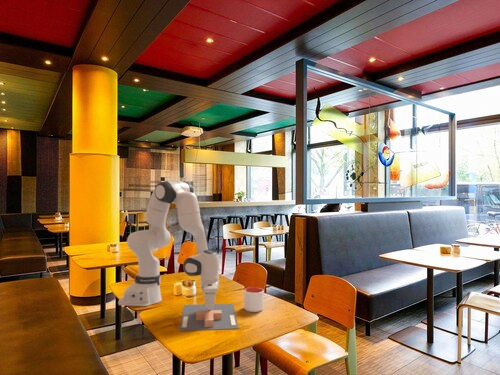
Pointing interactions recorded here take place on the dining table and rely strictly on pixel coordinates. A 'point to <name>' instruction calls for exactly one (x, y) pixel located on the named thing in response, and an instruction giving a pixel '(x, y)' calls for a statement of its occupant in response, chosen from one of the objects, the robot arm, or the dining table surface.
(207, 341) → the dining table surface
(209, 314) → the t block
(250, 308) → the cup
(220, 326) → the mat
